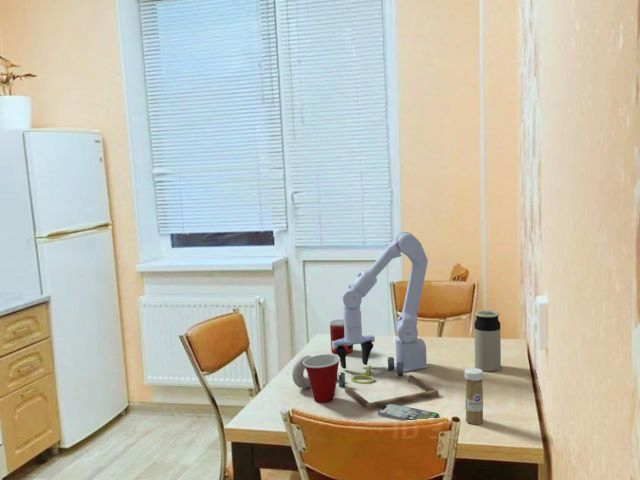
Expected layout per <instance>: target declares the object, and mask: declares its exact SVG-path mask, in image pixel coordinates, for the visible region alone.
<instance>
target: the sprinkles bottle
mask: <svg viewBox="0 0 640 480" xmlns="http://www.w3.org/2000/svg"><path fill="white" fill-rule="evenodd" d="M464 379H465V384H464V385H465V388H464V389H465V391H464V393H465V394H464V395H465V396H464V398H465V399H464V402H465V408H464V409H465V421H466V423H468V424H473V425H479V424H482V423H483V422H484V389H483V388H484V387H483V379H484V371H482V370H481V369H477V368H476V367H469V368H466V369H465V370H464Z"/></svg>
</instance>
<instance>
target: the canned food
mask: <svg viewBox="0 0 640 480" xmlns="http://www.w3.org/2000/svg"><path fill="white" fill-rule="evenodd" d="M329 330H330V333H329V334H330V350H331V353H332V354H333V355H338V354H337V352H336V350H335V349H334V348H333V347H332V341H335V340H339V339H342V338H345V335H344V319H335V320H331V321H330V323H329ZM344 347H345V349H346V350H347V351H346V355H350V354H352V353H353V351H354V345H348V346H344Z"/></svg>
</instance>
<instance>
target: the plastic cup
mask: <svg viewBox="0 0 640 480" xmlns="http://www.w3.org/2000/svg"><path fill="white" fill-rule="evenodd" d="M339 363H340V357H339V356H338V354H333V353H332V354H330V353H329V354H328V353H327V354H324V353H323V354H318V355H316V354H315V355H313V356H312V357H309V358H307V359H305V360H304V361H303V365H304V366H305V367H306V368H305V371H306V373H307V374H308V377H309V381H310V390H311V393H312V398H313V399H314V402H315V403H321V404H325V403H326V404H327V403H332V401H334V400H335V395H336V387H337V381H338V380H337V377H338V370H339Z"/></svg>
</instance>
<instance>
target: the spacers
mask: <svg viewBox="0 0 640 480" xmlns="http://www.w3.org/2000/svg"><path fill="white" fill-rule="evenodd" d="M394 363H395V358H394V356H393V357H392V356H388V357H387V371H389V372H394V371H395V367H394ZM396 376H397V377H403V376H404V372H403V363H402V362H398V363H397V368H396ZM337 381H338V387H339V388H345V387H346V373H345V372H337Z"/></svg>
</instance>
